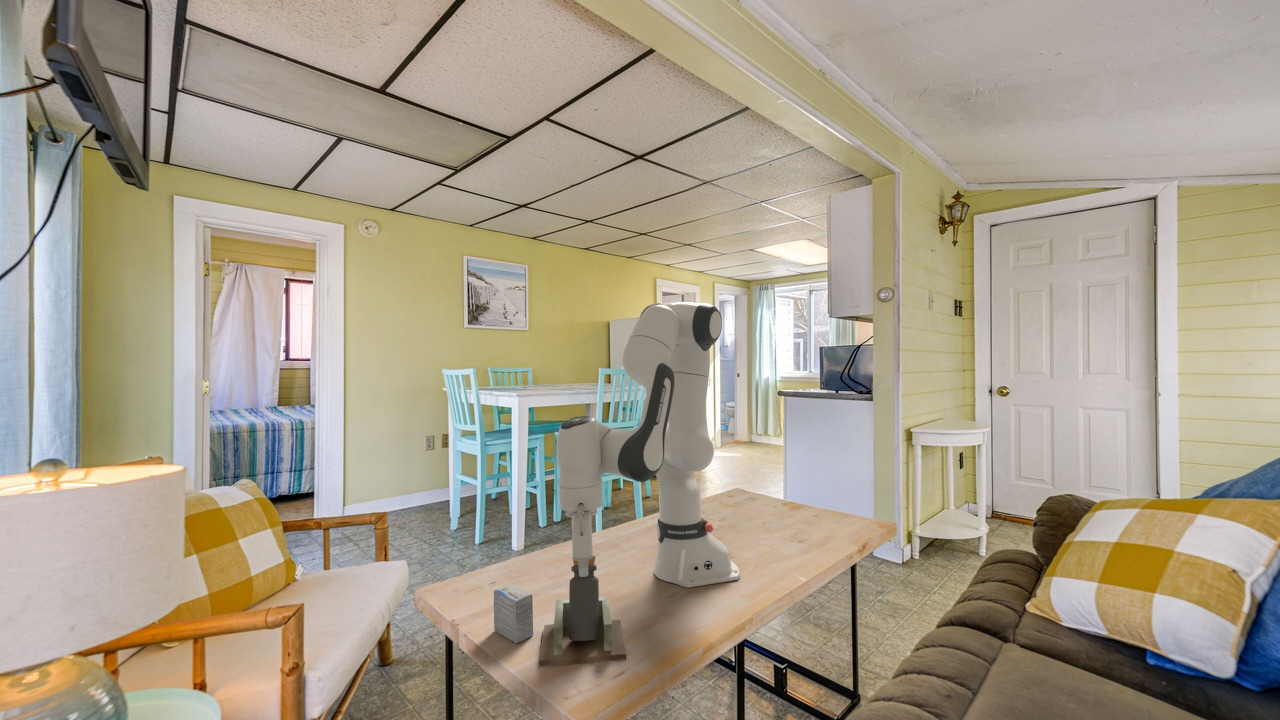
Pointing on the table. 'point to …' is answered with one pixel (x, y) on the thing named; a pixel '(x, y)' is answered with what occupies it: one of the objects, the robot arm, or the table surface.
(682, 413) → the robot arm
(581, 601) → the bottle
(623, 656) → the u rest
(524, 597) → the medicine box
